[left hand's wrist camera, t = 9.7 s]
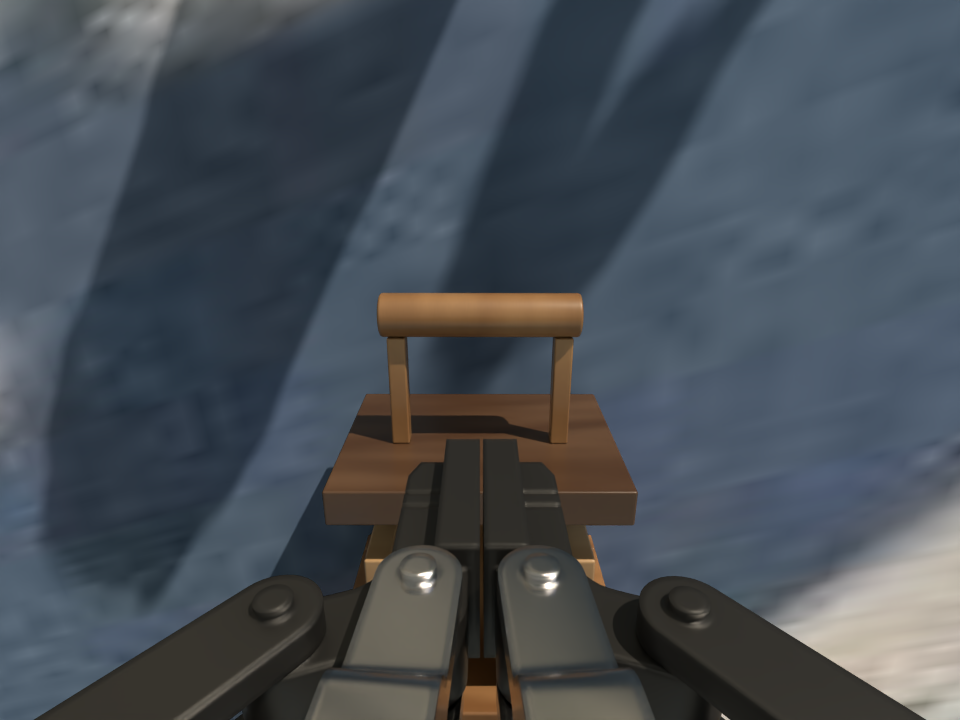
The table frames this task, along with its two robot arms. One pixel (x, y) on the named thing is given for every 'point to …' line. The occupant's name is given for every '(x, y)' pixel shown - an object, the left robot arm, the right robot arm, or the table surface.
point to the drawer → (479, 427)
